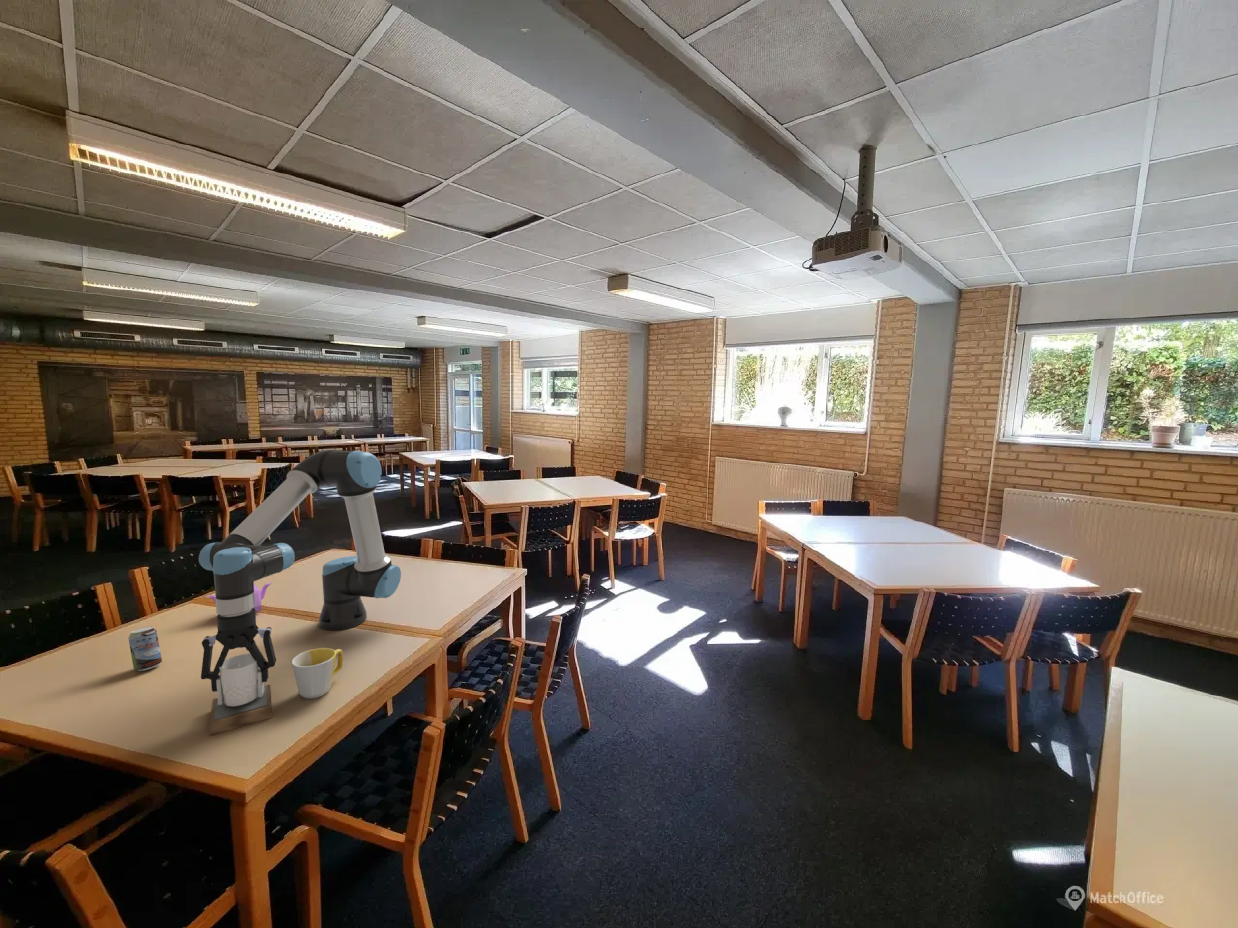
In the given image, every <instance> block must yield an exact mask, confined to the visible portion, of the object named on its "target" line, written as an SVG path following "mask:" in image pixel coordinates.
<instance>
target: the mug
mask: <svg viewBox="0 0 1238 928" xmlns="http://www.w3.org/2000/svg"><path fill="white" fill-rule="evenodd" d="M343 655H344V654H343V650H342V649H340V648H337V649H333V648H330V647H329V648H328V647H320V648H319V647H318V648H314V649H309V650H305V651H303V652H301V653H299V654H297V655H296V656H294V657H293V659H292V660H291V667H292V671H293V675H294V679H295V684H296V686H297V690H298V694H299V695H300V696H301V697H303V698H304V699H307V700H308V699H309V700H310V699H317V698H320V697H323V696H324V695H326V694H327V693H328V691H330V689H331V688H332V686H333V680H334V676H335V675H337V674H338V673H339V672H340V671H341V670H342V668H343V663H344V657H343ZM336 660H337V665H336ZM335 665H336V666H335Z"/></svg>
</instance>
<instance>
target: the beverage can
mask: <svg viewBox="0 0 1238 928" xmlns="http://www.w3.org/2000/svg"><path fill="white" fill-rule="evenodd" d="M128 644H129V649H130V650H129V651H130V655H131V662H132V667H133V670H134V671H138V672H144V671H147V670H151V669H154V668H156V667H158V666H160V663H162V662H163V658H162V654H161V646H160V641H159V637H158V631H157V629H156V628H155V627H154V626H151V625H150V626H145V627H140V628H137V629H134V630H132V631H130V635H128Z"/></svg>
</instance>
